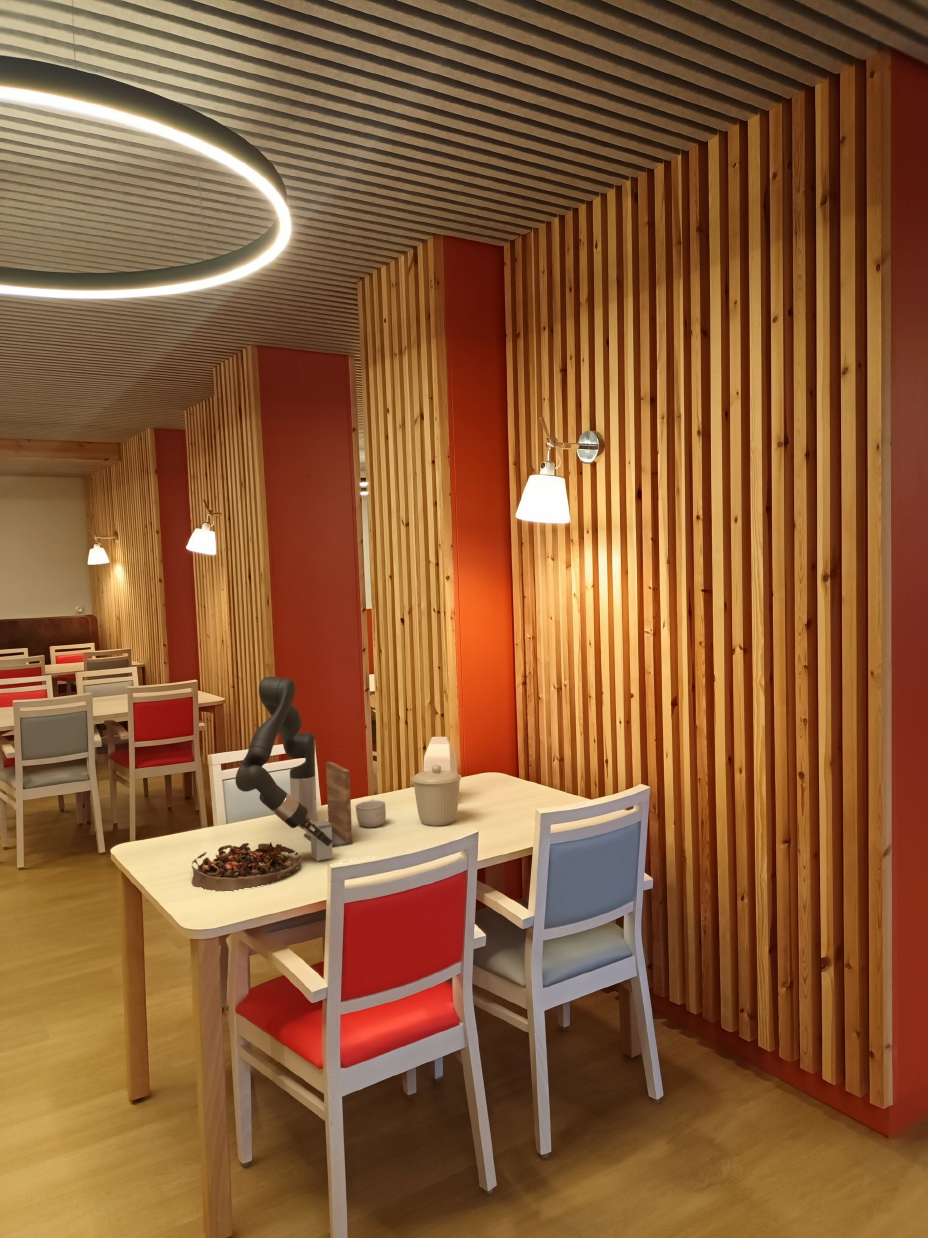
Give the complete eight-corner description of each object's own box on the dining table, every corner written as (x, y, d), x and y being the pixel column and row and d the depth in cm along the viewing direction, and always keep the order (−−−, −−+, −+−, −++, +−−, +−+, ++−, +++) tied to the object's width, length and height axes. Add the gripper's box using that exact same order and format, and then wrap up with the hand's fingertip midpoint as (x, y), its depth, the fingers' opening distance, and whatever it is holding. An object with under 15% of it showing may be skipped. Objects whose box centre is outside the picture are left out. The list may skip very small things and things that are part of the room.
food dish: (245, 853, 305) (245, 829, 304) (323, 868, 288) (323, 844, 288) (162, 881, 274) (162, 856, 274) (243, 901, 258) (243, 873, 257)
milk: (423, 805, 354) (420, 739, 353) (430, 798, 365) (428, 734, 364) (453, 806, 351) (450, 740, 350) (459, 799, 362) (457, 734, 361)
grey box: (317, 861, 288) (316, 826, 287) (311, 855, 293) (310, 822, 292) (332, 858, 290) (331, 824, 289) (326, 853, 295) (325, 819, 295)
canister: (470, 825, 325) (468, 767, 323) (421, 831, 318) (419, 772, 317) (453, 813, 342) (451, 757, 340) (407, 819, 335) (405, 762, 334)
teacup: (381, 830, 322) (380, 807, 322) (352, 829, 324) (351, 807, 324) (392, 819, 336) (391, 798, 335) (364, 818, 338) (363, 797, 338)
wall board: (320, 849, 301) (318, 775, 300) (304, 836, 317) (301, 765, 316) (352, 844, 306) (349, 770, 305) (334, 831, 322) (331, 761, 321)
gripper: (304, 805, 281) (341, 837, 287) (290, 795, 293) (326, 826, 300) (288, 825, 279) (326, 856, 285) (274, 814, 291) (311, 844, 297)
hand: (326, 841), depth 292 cm, fingers closed on grey box, 6 cm apart
